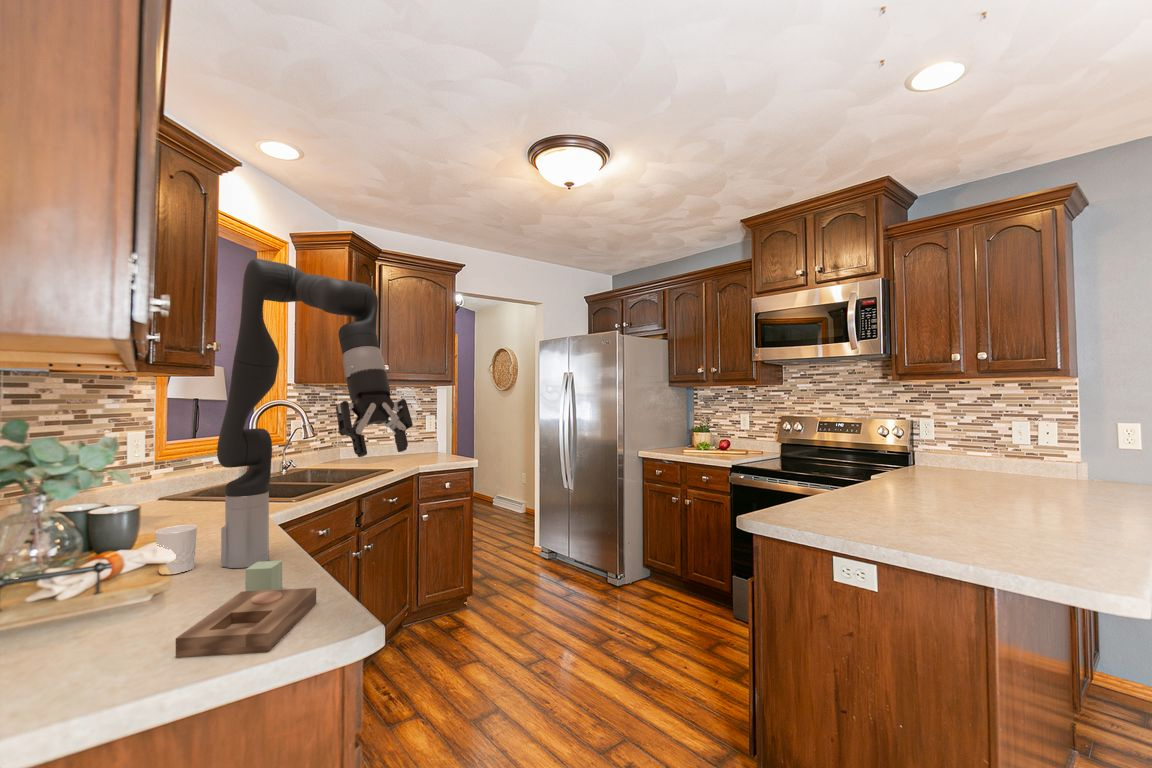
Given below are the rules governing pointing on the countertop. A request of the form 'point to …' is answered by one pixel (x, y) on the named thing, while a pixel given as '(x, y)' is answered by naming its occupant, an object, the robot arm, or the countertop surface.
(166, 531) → the white cup
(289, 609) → the puzzle board
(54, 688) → the countertop surface
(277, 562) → the green block
